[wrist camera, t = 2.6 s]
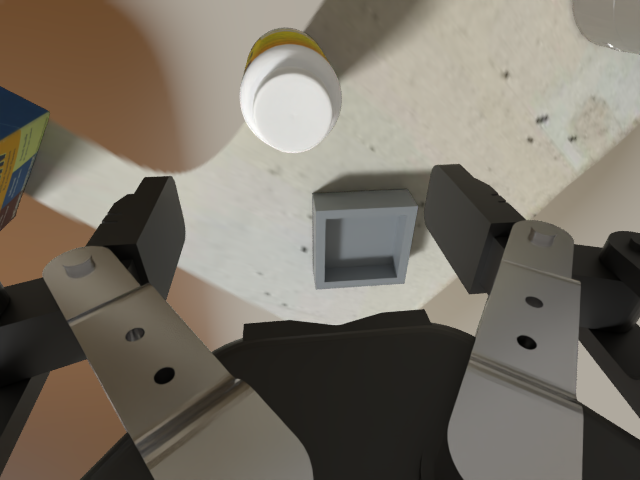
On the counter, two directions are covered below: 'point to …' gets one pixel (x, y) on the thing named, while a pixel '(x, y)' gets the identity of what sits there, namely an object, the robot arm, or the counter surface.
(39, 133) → the protein box
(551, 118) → the counter surface
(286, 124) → the supplement bottle
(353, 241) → the bin
